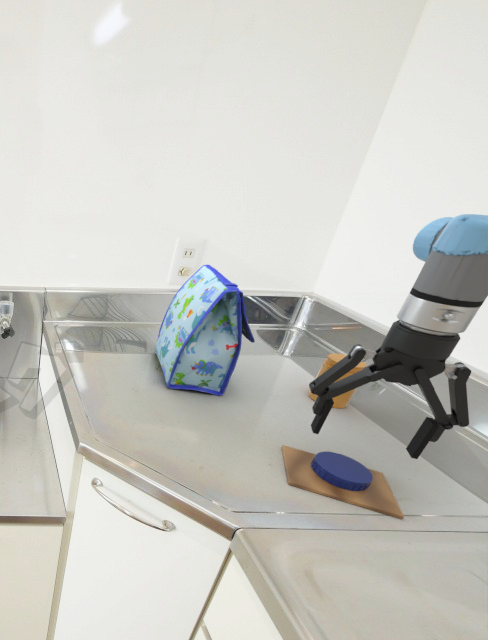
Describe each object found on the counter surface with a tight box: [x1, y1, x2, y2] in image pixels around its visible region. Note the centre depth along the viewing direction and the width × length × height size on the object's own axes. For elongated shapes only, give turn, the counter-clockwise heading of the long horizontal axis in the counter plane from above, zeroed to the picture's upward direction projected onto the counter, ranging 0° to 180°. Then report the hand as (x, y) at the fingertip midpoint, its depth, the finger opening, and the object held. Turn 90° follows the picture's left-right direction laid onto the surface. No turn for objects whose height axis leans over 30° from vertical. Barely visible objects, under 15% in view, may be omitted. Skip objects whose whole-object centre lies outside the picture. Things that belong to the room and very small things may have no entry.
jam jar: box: [307, 353, 367, 409], centre depth 99 cm, size 8×8×11 cm
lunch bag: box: [154, 264, 256, 397], centre depth 104 cm, size 22×17×26 cm
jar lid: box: [311, 451, 373, 491], centre depth 76 cm, size 8×8×2 cm
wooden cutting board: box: [281, 444, 405, 520], centre depth 76 cm, size 16×12×1 cm
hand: (361, 441), depth 73 cm, fingers open, 13 cm apart
